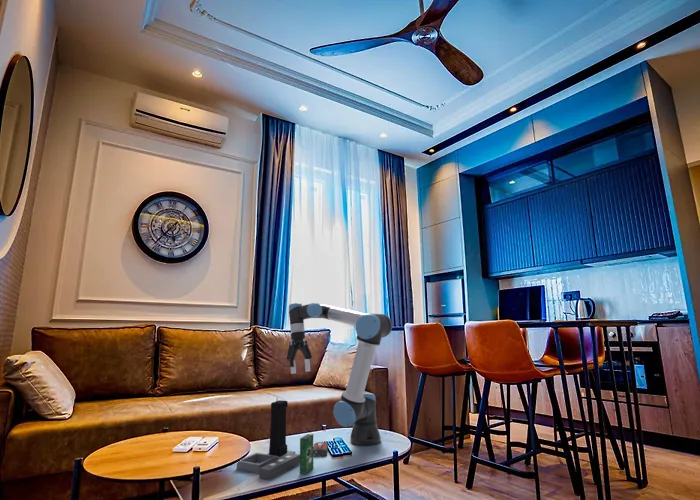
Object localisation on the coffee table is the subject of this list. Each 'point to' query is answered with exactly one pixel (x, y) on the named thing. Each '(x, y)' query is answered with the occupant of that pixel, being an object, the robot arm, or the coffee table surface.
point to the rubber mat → (285, 454)
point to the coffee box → (306, 453)
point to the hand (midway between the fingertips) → (301, 372)
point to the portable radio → (278, 428)
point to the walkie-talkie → (320, 449)
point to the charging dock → (268, 464)
